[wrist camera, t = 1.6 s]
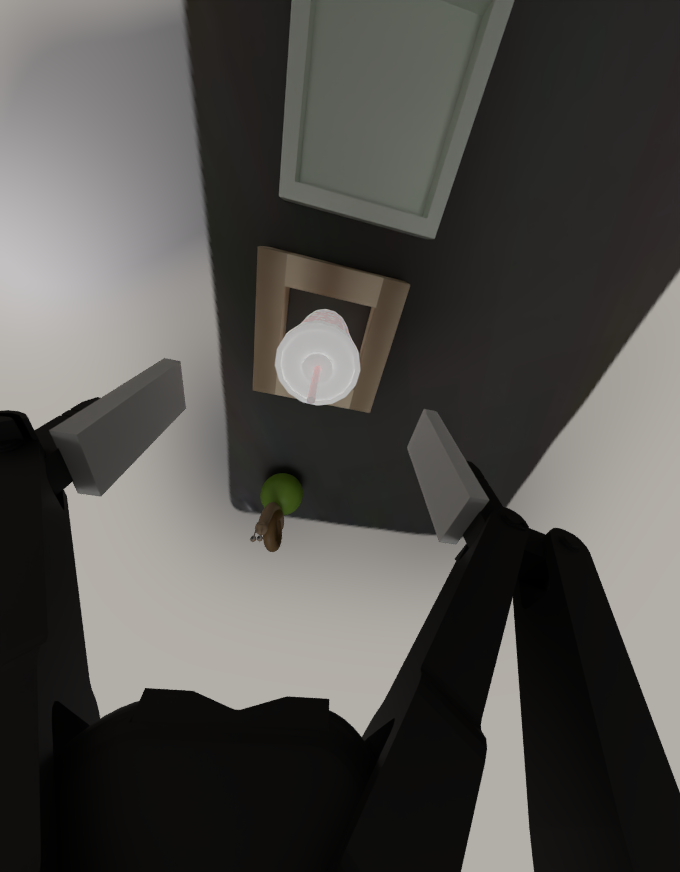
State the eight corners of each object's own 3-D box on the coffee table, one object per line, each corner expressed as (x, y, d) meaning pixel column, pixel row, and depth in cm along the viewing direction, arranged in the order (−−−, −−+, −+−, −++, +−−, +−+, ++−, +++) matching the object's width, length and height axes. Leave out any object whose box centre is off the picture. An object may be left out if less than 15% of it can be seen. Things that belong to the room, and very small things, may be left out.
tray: (502, 0, 16) (526, -36, 14) (426, 239, 23) (434, 238, 20) (306, -76, 15) (300, -128, 13) (285, 200, 21) (278, 196, 19)
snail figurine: (299, 457, 36) (282, 537, 26) (308, 491, 40) (296, 573, 30) (259, 460, 36) (227, 541, 26) (271, 494, 40) (248, 575, 30)
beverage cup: (280, 331, 27) (233, 395, 15) (326, 284, 24) (310, 318, 13) (323, 375, 29) (310, 459, 18) (368, 337, 27) (387, 404, 16)
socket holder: (403, 280, 24) (410, 284, 22) (367, 399, 31) (369, 413, 28) (266, 246, 23) (257, 246, 20) (260, 378, 30) (252, 390, 27)
